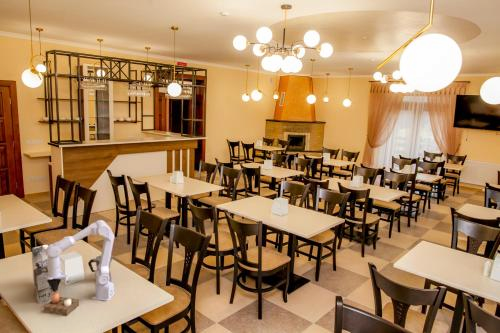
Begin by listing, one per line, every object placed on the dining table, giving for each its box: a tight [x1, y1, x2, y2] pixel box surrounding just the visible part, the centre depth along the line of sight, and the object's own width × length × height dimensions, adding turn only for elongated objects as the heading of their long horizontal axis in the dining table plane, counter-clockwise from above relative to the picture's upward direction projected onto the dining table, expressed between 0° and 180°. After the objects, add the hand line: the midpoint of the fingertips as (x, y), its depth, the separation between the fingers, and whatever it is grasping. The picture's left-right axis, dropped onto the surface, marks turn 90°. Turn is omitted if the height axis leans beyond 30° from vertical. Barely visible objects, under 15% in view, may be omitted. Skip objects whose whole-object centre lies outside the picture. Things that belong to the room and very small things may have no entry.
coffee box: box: [32, 267, 52, 304], centre depth 194 cm, size 9×6×16 cm
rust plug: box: [51, 291, 60, 304], centre depth 185 cm, size 3×3×5 cm
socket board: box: [43, 296, 80, 317], centre depth 185 cm, size 13×10×4 cm
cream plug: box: [64, 299, 71, 306], centre depth 184 cm, size 3×3×5 cm
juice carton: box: [31, 243, 52, 290], centre depth 202 cm, size 9×10×27 cm
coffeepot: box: [87, 254, 115, 282], centre depth 215 cm, size 15×9×18 cm, turn 129°
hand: (55, 291), depth 184 cm, fingers closed
